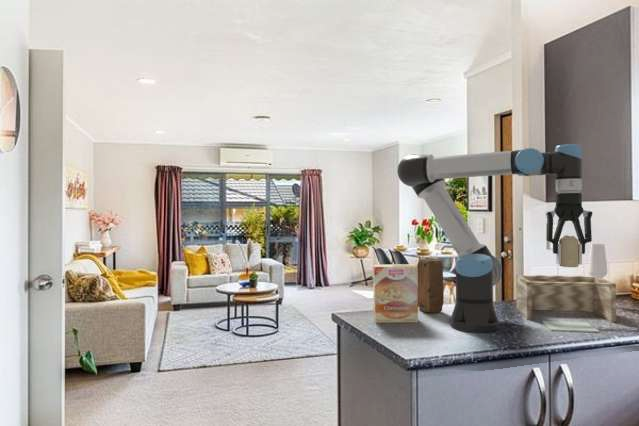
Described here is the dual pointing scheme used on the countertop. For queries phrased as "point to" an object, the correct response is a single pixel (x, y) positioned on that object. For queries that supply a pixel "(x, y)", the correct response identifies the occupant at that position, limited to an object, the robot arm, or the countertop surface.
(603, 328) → the countertop surface
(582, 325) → the mat
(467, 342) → the countertop surface
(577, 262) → the candle
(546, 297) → the access cubby
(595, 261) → the champagne flute
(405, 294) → the coffeecake box
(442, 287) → the block
